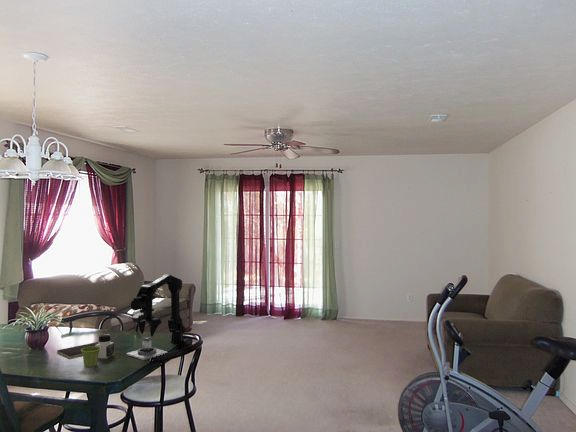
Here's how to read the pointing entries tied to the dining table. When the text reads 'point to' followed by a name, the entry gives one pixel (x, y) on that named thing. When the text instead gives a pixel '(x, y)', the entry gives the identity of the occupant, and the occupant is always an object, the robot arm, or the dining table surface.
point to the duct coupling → (146, 344)
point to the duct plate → (143, 357)
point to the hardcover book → (75, 350)
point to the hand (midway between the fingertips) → (146, 335)
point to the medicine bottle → (105, 346)
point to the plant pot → (90, 356)
